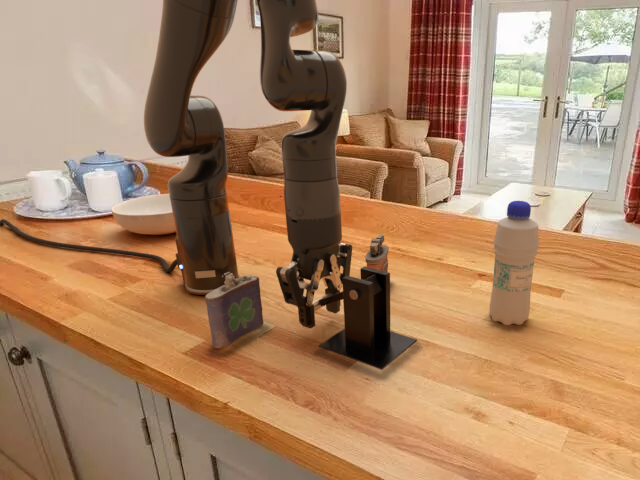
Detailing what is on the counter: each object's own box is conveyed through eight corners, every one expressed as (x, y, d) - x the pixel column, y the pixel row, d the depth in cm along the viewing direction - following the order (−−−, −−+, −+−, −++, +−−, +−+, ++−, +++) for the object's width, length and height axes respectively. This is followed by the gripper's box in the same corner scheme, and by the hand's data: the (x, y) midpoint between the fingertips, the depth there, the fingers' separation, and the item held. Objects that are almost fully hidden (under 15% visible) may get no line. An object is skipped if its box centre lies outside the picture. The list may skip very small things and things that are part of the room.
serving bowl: (151, 216, 134) (146, 191, 131) (224, 220, 131) (220, 194, 128) (96, 240, 115) (89, 212, 112) (180, 245, 112) (174, 216, 109)
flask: (222, 356, 69) (210, 287, 65) (207, 351, 70) (195, 282, 66) (268, 329, 77) (261, 265, 72) (255, 324, 78) (246, 261, 74)
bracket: (318, 353, 70) (313, 277, 66) (357, 327, 77) (354, 257, 73) (382, 376, 65) (380, 296, 60) (417, 347, 72) (418, 272, 67)
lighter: (381, 300, 87) (380, 246, 83) (362, 298, 87) (361, 245, 83) (391, 282, 94) (391, 232, 90) (374, 280, 94) (373, 231, 91)
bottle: (504, 336, 75) (516, 209, 67) (478, 318, 81) (487, 198, 73) (538, 326, 78) (553, 203, 70) (511, 309, 83) (523, 194, 76)
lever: (308, 317, 72) (301, 302, 72) (330, 305, 76) (324, 290, 76) (366, 299, 65) (359, 282, 64) (387, 286, 68) (381, 270, 68)
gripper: (326, 195, 75) (332, 296, 82) (254, 217, 64) (267, 331, 70) (366, 202, 71) (369, 307, 78) (296, 226, 60) (306, 346, 67)
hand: (320, 318), depth 74 cm, fingers closed on lever, 5 cm apart
